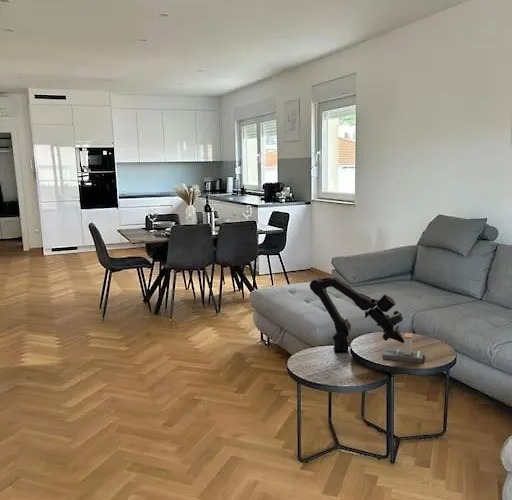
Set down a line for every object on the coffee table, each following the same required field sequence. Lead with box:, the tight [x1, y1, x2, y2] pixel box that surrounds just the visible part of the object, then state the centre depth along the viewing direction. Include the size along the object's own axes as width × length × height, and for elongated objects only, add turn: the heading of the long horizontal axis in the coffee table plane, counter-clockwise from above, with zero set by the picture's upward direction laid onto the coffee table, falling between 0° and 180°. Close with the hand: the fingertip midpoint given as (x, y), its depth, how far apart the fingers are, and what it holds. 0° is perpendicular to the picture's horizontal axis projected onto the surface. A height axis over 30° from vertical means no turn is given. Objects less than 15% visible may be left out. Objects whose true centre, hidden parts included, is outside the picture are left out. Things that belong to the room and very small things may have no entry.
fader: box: [403, 332, 413, 355], centre depth 234 cm, size 3×5×9 cm, turn 158°
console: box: [381, 347, 425, 364], centre depth 236 cm, size 18×10×2 cm, turn 68°
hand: (404, 342), depth 234 cm, fingers closed, pressing on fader
